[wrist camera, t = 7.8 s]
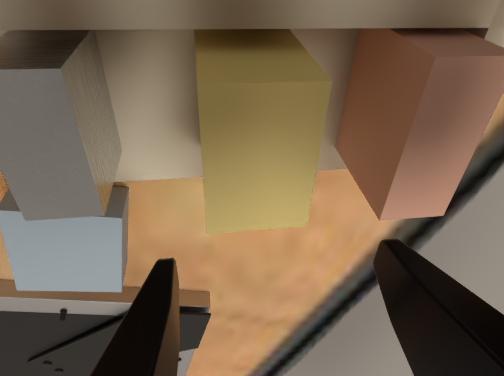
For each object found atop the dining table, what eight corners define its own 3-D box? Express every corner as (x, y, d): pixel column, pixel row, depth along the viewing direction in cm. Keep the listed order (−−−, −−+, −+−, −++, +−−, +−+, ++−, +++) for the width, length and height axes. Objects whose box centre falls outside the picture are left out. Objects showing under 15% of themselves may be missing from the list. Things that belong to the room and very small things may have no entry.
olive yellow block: (285, 24, 16) (332, 81, 11) (275, 142, 19) (307, 226, 14) (194, 25, 15) (196, 84, 10) (201, 146, 19) (206, 233, 14)
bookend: (94, 25, 15) (60, 68, 11) (122, 150, 18) (104, 215, 14) (15, 25, 14) (-49, 70, 10) (60, 153, 18) (25, 220, 14)
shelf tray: (452, -29, 16) (535, -9, 13) (393, 154, 23) (436, 206, 19) (-20, -37, 14) (-101, -15, 10) (58, 172, 20) (27, 236, 16)
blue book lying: (129, 184, 22) (122, 218, 19) (127, 256, 25) (121, 292, 23) (17, 174, 20) (-5, 210, 18) (33, 252, 24) (17, 290, 22)
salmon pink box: (425, 12, 16) (520, 55, 12) (385, 145, 21) (442, 215, 16) (362, 12, 16) (435, 56, 11) (335, 147, 20) (379, 220, 15)
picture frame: (209, 284, 29) (-103, 264, 23) (210, 315, 27) (-133, 301, 21) (177, 376, 38) (-54, 378, 32) (177, 405, 36) (-72, 413, 30)
